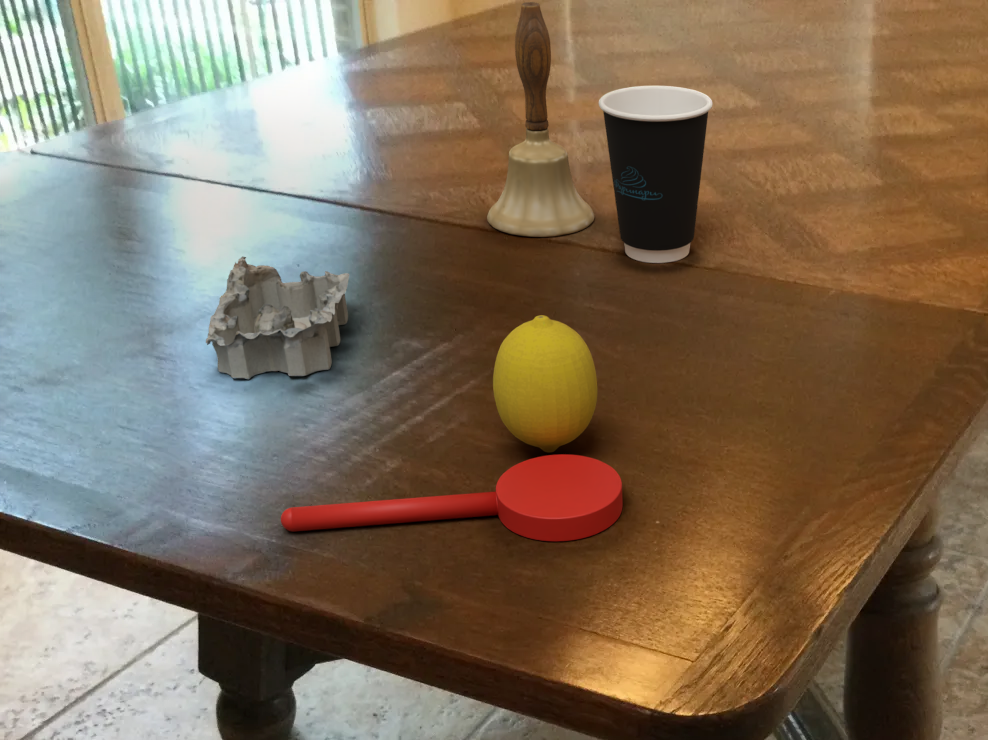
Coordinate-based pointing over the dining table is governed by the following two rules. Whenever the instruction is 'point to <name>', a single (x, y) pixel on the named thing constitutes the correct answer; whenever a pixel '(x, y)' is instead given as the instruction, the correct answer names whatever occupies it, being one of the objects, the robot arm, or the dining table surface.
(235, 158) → the dining table surface
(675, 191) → the dixie cup
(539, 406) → the lemon
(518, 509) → the red lollipop
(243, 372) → the egg carton
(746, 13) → the dining table surface
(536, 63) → the hand bell
